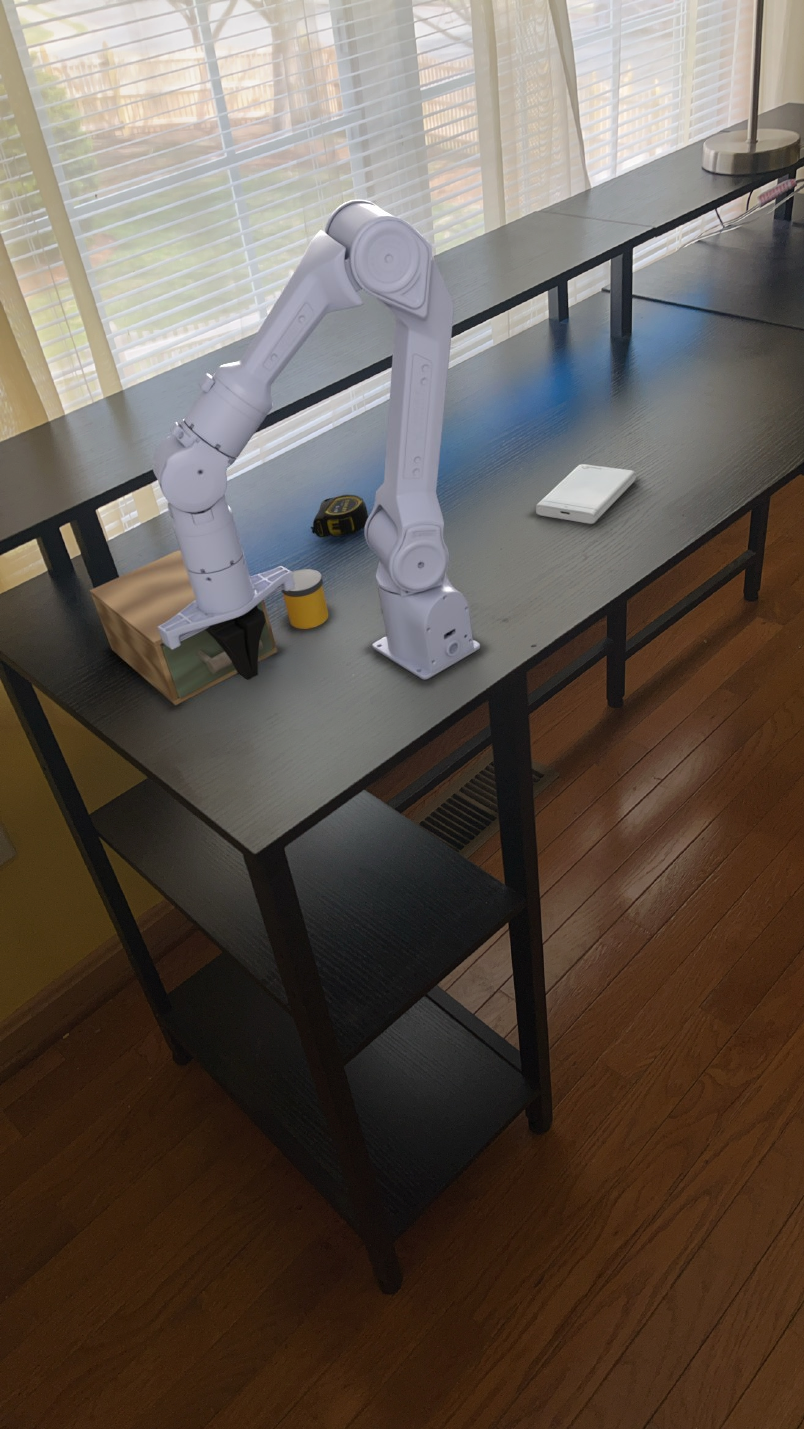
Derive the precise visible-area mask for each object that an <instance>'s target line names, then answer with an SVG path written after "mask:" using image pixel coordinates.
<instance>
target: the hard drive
mask: <svg viewBox="0 0 804 1429" xmlns="http://www.w3.org/2000/svg"><path fill="white" fill-rule="evenodd" d="M635 481H636V471H634V470H632V469H624V468H616V467H615V468H614V467H609V466H601V465H592V464H584V463H580V464H578V465H577V467H575V468H574V469H573V470H571V472H570V473H569V474H568V475H567V476H566V477H565V478H563V479H562V480H561V481H560V482H559V483H558V484H557V485H556V486H555V487H554V488H553V489H552V490H551V491H550V492H549V493H548V494H547V495H546V496H544V497H543V498H542V499H541V500H540V501H539V502H538V503H537V504H536V505H535V511H536V512H535V513H536V514H537V515H539V516H542V517H548V518H554V519H560V520H565V521H566V520H567V521H573V522H579V523H583V524H589V525H593V524H595V523H596V522H597V521H598V519H600V518H601V517H602V516H603V515H604V514H605V513H606V512H607V511H608V509H609V508H610V507H611V506H612V505H613V504H614V503H615V502H616V501H617V500H619V498H620V497H621V496H622V495H623V494H624V493H625V492H626V491H627V490H628V488H630V487H631V486H632V484H633V483H634V482H635Z"/></svg>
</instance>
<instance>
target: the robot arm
mask: <svg viewBox="0 0 804 1429" xmlns="http://www.w3.org/2000/svg"><path fill="white" fill-rule="evenodd" d="M361 290H363V291H364V292H365V293H367V294H368V295H371V297H373V298H375V299H376V300H377V301H378V302H379V303H380V304H381V305H382V306H383V307H384V308H385V310H386V311H387V312H388V313H389V314H390V315H391V316H392V318H393V319H394V328H393V330H394V331H393V343H392V357H391V358H392V359H391V375H390V388H389V402H388V417H387V430H386V431H387V432H386V444H385V446H386V447H385V459H384V463H385V464H384V477H383V483H381V485H380V486H379V487H378V489H376V491H375V494H374V495H375V496H374V505H373V508H372V510H371V511H370V514H368V519H367V521H366V524H365V526H364V531H363V532H364V539H365V542H366V545H367V547H369V549H370V550H371V551H372V552H373V553H374V554H375V555H376V556H377V558H378V559H379V560H378V565H377V569H376V572H375V579H376V580H375V581H376V586H377V591H378V596H379V601H380V607H381V608H380V609H381V614H382V618H383V624H384V631H385V635H386V636H384V637H382V638H380V639H378V640H376V641H374V642H373V643H372V649H373V650H375V651H376V652H378V653H380V654H381V655H382V656H384V657H386V658H387V659H389V660H391V661H393V662H394V663H395V664H397V665H399V666H401V667H403V668H404V669H405V670H407V671H409V672H410V673H412V674H413V675H415V676H416V677H418V678H419V679H421V680H423V681H425V680H428V679H431V678H432V677H434V676H435V675H437V674H439V673H441V672H442V671H444V670H446V669H448V668H449V667H450V666H452V665H455V664H456V663H458V662H460V661H461V660H463V659H464V658H467V657H468V656H469V655H471V654H473V653H475V652H476V651H478V650H480V649H481V643H480V642H478V641H476V640H474V636H473V628H472V620H471V610H470V604H469V601H468V599H467V598H466V596H465V595H464V594H462V592H460V591H459V590H457V589H456V588H455V586H453V585H452V583H451V582H450V579H449V578H448V576H447V571H448V570H449V565H450V551H449V549H448V546H447V543H446V541H445V538H444V533H445V532H444V530H445V520H444V517H443V516H444V515H443V513H442V509H441V506H440V502H439V499H438V495H437V494H438V493H437V486H438V476H439V468H440V467H439V466H440V457H441V456H440V455H441V447H442V435H443V427H444V426H443V425H444V417H445V416H444V415H445V405H446V394H447V386H448V385H447V384H448V376H449V374H448V373H449V367H450V366H449V364H450V356H451V355H450V354H451V343H452V333H453V326H454V325H453V324H454V313H455V307H454V300H453V297H452V295H451V293H450V291H449V287H448V286H447V284H446V281H445V279H444V276H443V275H442V273H441V271H440V268H439V266H438V264H437V261H436V259H435V257H434V246H433V245H432V243H431V242H430V241H428V240H427V238H426V237H425V236H424V235H422V234H421V233H420V232H419V231H418V230H417V229H416V228H415V227H414V226H413V224H411V223H410V222H408V221H407V220H405V219H403V218H402V217H399V216H395V215H392V214H390V213H389V212H387V211H385V210H384V209H382V208H380V206H378V205H377V204H375V203H374V202H372V201H369V200H365V199H352V200H349V201H346V202H344V203H342V204H341V205H339V206H338V207H337V208H336V209H334V210H333V212H332V213H331V215H330V216H329V218H328V220H327V222H326V224H325V227H324V231H323V230H322V229H320V230H319V231H318V232H317V233H316V234H315V236H314V237H313V238H312V239H311V240H310V242H309V244H308V246H307V247H306V250H305V251H304V253H303V255H302V257H301V259H300V261H299V263H298V265H297V267H296V268H295V270H294V272H293V273H292V275H291V276H290V278H289V280H288V281H287V283H286V285H285V286H284V288H283V289H282V291H281V292H280V294H279V296H278V297H277V299H276V301H275V303H274V305H273V306H272V308H271V309H270V311H269V312H268V314H267V316H266V317H265V319H264V321H263V323H261V326H260V328H259V329H258V331H257V332H256V334H255V336H254V337H253V339H252V341H251V342H250V344H249V346H248V347H247V349H246V350H245V351H244V354H242V357H241V359H239V360H238V361H235V362H229V363H225V364H221V365H218V367H217V368H216V370H215V372H214V373H213V375H211V374H210V373H208V372H206V373H205V374H204V375H203V376H202V378H201V379H200V381H199V382H198V385H199V388H200V390H201V392H200V394H199V395H198V397H197V398H196V400H195V401H194V402H193V404H192V405H191V407H190V409H189V410H188V412H187V413H186V415H185V416H184V418H183V419H182V421H181V422H177V421H175V422H174V423H173V424H172V426H171V428H170V433H171V436H166V438H164V439H163V440H162V441H161V442H160V443H159V444H158V446H157V448H156V449H155V452H154V455H153V467H152V472H153V474H154V476H155V478H156V479H157V481H158V485H159V488H160V490H161V493H162V495H163V497H164V498H165V500H166V501H167V510H168V513H169V516H170V517H171V519H172V520H171V524H172V525H171V526H172V529H173V532H174V536H175V538H176V539H175V540H176V542H177V546H178V548H179V550H180V552H181V555H182V558H183V561H184V564H185V567H186V570H187V574H188V577H189V580H190V583H191V586H192V589H193V592H194V596H195V599H196V600H194V601H193V602H192V603H191V604H189V605H188V606H187V607H186V608H184V609H183V610H182V611H180V612H179V613H178V614H177V615H175V616H174V617H173V618H171V619H170V620H168V621H167V622H165V623H163V624H162V625H160V626H158V630H159V633H160V635H161V638H162V641H163V643H164V644H165V645H166V646H168V647H169V648H171V649H172V650H173V649H175V648H177V647H179V646H180V645H181V643H180V642H181V641H183V640H185V639H187V638H189V637H191V636H193V635H195V634H197V633H199V632H201V631H203V630H206V631H207V632H208V633H209V634H210V635H211V636H212V637H213V638H214V639H215V640H216V642H217V643H218V644H219V645H220V646H221V647H222V649H223V650H224V651H225V653H226V654H227V655H228V657H229V658H230V659H231V661H232V663H233V665H234V667H235V669H236V671H237V673H236V674H238V675H239V676H240V677H241V678H243V679H245V680H246V681H249V680H251V679H253V678H255V677H256V676H258V675H259V662H258V650H259V642H260V638H261V634H262V630H263V627H264V625H265V623H266V619H265V615H264V612H263V611H262V610H260V609H258V607H257V604H258V603H260V602H261V601H262V600H264V601H265V600H266V599H268V598H270V597H272V596H273V595H276V594H277V593H279V592H281V591H282V590H285V591H289V590H291V589H293V588H295V584H294V580H293V576H292V572H293V571H291V570H289V569H288V568H286V567H284V566H282V565H279V566H277V567H275V568H273V569H270V570H267V571H264V572H261V573H258V574H257V573H256V574H253V575H250V571H249V568H248V564H247V560H246V557H245V554H244V550H243V546H242V543H241V539H240V536H239V531H238V528H237V525H236V520H235V518H234V517H235V516H234V514H233V510H232V508H231V507H230V505H229V504H228V502H227V498H226V491H227V487H228V477H227V470H228V468H230V467H231V466H232V465H233V464H234V463H235V461H236V460H237V459H238V457H239V456H240V455H241V454H242V452H243V450H244V449H245V448H246V446H247V445H248V443H249V442H250V441H251V439H252V437H253V436H254V434H255V433H256V431H257V430H258V429H259V427H260V426H261V424H262V423H263V422H264V420H265V419H266V417H267V416H268V414H269V413H270V412H271V410H272V409H273V406H274V402H273V396H272V385H273V383H274V382H276V380H277V378H278V377H279V375H280V374H281V373H282V371H284V369H285V368H286V367H287V365H288V364H289V363H290V362H291V360H292V359H293V358H294V356H295V355H296V353H298V352H299V350H300V349H301V347H302V346H303V345H304V344H305V342H306V341H307V340H308V338H309V337H310V335H312V333H313V332H314V330H315V329H316V328H317V326H318V325H319V324H320V323H321V322H322V320H323V319H324V318H325V316H326V315H328V314H329V313H334V312H339V311H343V310H349V309H353V308H358V307H361V306H364V301H363V300H362V298H361V297H360V295H359V294H358V292H359V291H361Z"/></svg>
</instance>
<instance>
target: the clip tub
mask: <svg viewBox="0 0 804 1429" xmlns="http://www.w3.org/2000/svg"><path fill="white" fill-rule="evenodd" d="M291 572H292V576H293V580H294V584H295V588H293V589H291V590H289V591H285V590H282V591H280V592H281V593H282V595H283V596H282V597H283V599H284V600H283V601H284V603H285V608H286V611H287V612H286V613H287V617H288V620H289V623H290V625H291V626H292V627H293V628H295V629H299V630H300V629H301V630H302V629H303V630H307V629H313V628H316V627H318V626H321V625H322V624H324V623H325V622H326V621H327V620H328V618H329V611H328V604H327V600H326V596H325V592H324V587H323V583H324V581H323V576H322V574H321V572H319V571H317V570H315V569H311V568H305V569H304V568H303V569H297V570H293V571H291Z"/></svg>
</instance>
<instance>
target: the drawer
mask: <svg viewBox="0 0 804 1429" xmlns="http://www.w3.org/2000/svg"><path fill="white" fill-rule="evenodd" d="M257 607H258V609H260V610H262V611H263V607H262V603H261V602H260V603H258V604H257ZM263 612H264V611H263ZM265 619H266V618H265ZM180 643H181V645H180V646H179V647H177V648H175V649H173V650H172V649H171V648H169V647H168V646H166V645H165V644H164V643H163V644H161V645H160V646H161V648H162V651H163V654H164V657H165V660H166V663H167V666H168V669H169V672H170V675H171V678H172V681H173V684H174V686H175V689H176V692H177V695H178V697H179V698H180V699H181V698H183V697H185V696H187V695H189V694H191V693H192V692H194V691H196V690H198V689H200V688H202V687H204V686H206V685H208V684H210V683H211V682H213V681H215V680H217V679H219V678H221V677H223V676H225V675H227V674H229V673H230V672H232V671H234V670H236V669H235V667H234V665H233V663H232V661H231V659H230V658H229V657H228V655H227V654H226V653H225V651H224V650H223V649H222V647H221V646H220V645H219V644H218V643H217V642H216V640H215V639H214V638H213V637H212V636H211V635H210V634H209V633H208V632H207V631H206V630H203V631H201V632H199V633H197V634H195V635H193V636H191V637H189V638H187V639H185V640H183V641H181V642H180ZM272 650H274V649H273V645H272V641H271V638H270V634H269V630H268V626H267V622H266V623H265V625H264V627H263V630H262V634H261V638H260V642H259V650H258V658H259V657H261V656H263V655H265V654H267V653H269V652H270V651H272Z"/></svg>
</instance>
